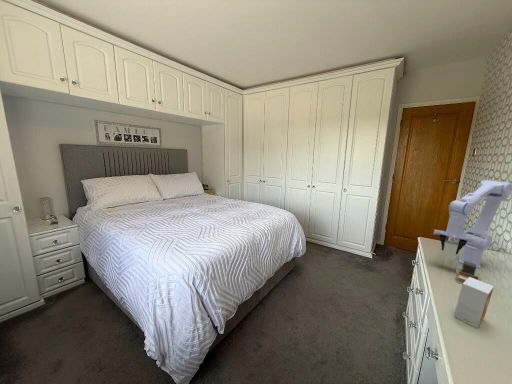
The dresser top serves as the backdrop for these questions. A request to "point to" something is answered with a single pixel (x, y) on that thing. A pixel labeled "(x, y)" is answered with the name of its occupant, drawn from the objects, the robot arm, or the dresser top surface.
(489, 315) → the dresser top surface
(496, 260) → the dresser top surface
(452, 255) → the finger block
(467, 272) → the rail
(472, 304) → the small box
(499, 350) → the dresser top surface
